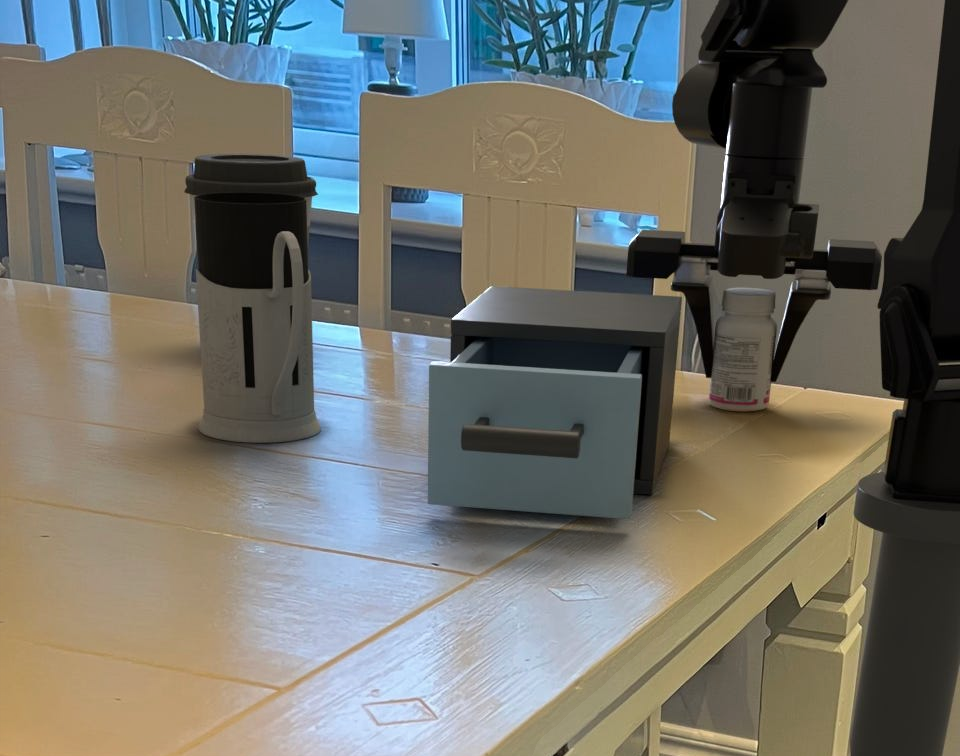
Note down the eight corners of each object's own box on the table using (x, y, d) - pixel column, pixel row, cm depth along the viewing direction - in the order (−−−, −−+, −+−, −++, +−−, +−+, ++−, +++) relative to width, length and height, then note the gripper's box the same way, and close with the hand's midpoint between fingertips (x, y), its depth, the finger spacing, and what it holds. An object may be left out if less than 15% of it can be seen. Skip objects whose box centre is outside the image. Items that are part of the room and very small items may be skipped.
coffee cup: (290, 363, 136) (284, 166, 128) (170, 352, 139) (157, 159, 131) (341, 341, 145) (338, 157, 137) (227, 331, 148) (218, 150, 140)
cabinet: (652, 495, 102) (665, 332, 97) (448, 480, 103) (450, 319, 98) (669, 443, 114) (682, 296, 109) (486, 431, 116) (491, 285, 111)
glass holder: (298, 411, 120) (292, 190, 112) (365, 455, 109) (362, 213, 101) (184, 419, 116) (169, 191, 109) (241, 465, 105) (228, 215, 98)
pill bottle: (736, 397, 129) (748, 284, 124) (780, 407, 126) (794, 293, 121) (695, 403, 126) (705, 289, 122) (739, 414, 123) (752, 297, 119)
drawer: (621, 541, 89) (632, 394, 85) (410, 525, 91) (411, 380, 87) (649, 465, 105) (659, 337, 100) (468, 452, 106) (471, 326, 102)
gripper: (627, 158, 111) (611, 391, 119) (899, 170, 109) (864, 408, 117) (641, 147, 121) (626, 364, 129) (892, 158, 118) (860, 379, 126)
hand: (740, 379), depth 125 cm, fingers closed on pill bottle, 5 cm apart
